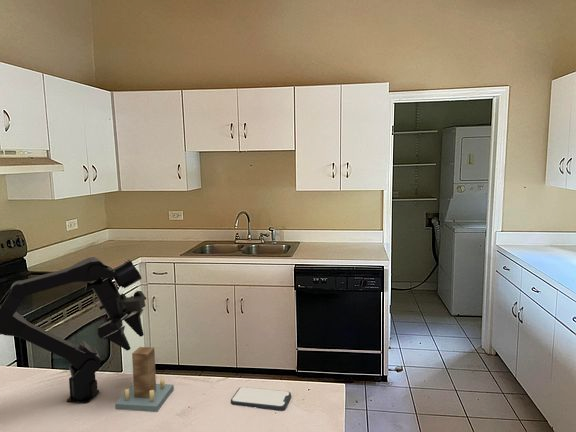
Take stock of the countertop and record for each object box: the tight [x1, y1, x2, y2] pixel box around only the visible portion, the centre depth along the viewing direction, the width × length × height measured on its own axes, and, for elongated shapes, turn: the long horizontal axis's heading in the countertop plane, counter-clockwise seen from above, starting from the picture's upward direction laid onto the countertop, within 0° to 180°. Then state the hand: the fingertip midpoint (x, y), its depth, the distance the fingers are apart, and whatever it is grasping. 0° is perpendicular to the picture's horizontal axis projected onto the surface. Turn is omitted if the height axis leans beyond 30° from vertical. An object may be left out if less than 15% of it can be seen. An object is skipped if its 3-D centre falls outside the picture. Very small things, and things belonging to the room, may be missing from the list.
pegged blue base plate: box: [114, 377, 175, 413], centre depth 126 cm, size 12×12×4 cm
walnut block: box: [131, 346, 157, 398], centre depth 125 cm, size 4×4×13 cm
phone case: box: [230, 386, 292, 412], centre depth 125 cm, size 9×2×16 cm
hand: (135, 342), depth 130 cm, fingers open, 9 cm apart
